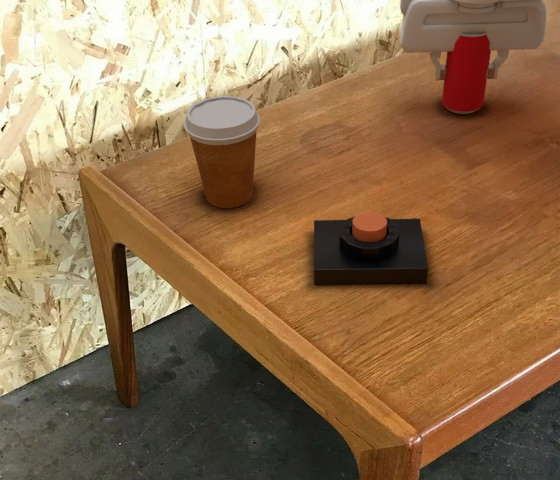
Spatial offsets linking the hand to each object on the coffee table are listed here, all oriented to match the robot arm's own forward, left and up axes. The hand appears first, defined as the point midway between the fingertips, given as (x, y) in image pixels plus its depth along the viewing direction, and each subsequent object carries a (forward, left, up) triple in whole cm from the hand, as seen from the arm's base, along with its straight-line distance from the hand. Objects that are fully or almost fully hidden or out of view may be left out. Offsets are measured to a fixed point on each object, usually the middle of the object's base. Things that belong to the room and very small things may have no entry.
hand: (465, 78), depth 118 cm
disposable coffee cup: (+34, +24, -5) cm, 42 cm away
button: (+16, +38, -1) cm, 41 cm away
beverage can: (0, 0, -5) cm, 5 cm away
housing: (+16, +38, -5) cm, 42 cm away
